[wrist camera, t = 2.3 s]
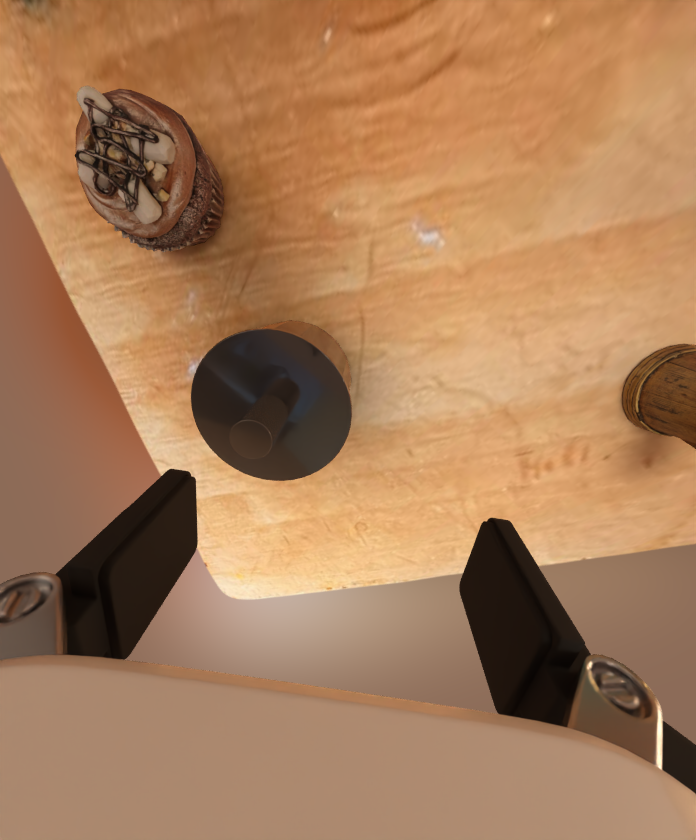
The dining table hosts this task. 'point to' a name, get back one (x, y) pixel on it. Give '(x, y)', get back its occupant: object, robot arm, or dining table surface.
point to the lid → (271, 404)
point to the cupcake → (146, 170)
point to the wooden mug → (664, 393)
